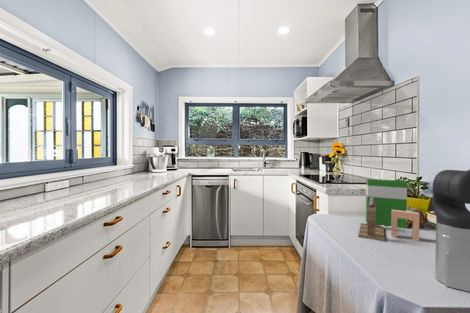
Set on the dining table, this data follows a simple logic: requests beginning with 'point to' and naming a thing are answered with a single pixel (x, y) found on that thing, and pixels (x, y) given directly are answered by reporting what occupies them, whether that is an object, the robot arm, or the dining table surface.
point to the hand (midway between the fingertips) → (435, 209)
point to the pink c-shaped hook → (405, 215)
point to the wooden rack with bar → (371, 224)
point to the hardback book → (387, 200)
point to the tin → (421, 216)
